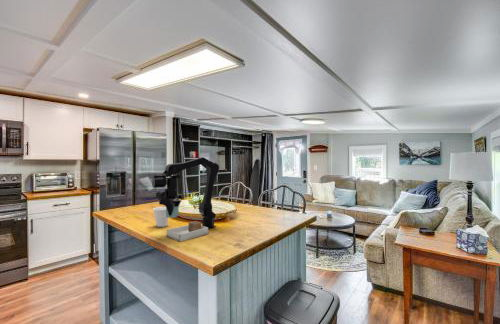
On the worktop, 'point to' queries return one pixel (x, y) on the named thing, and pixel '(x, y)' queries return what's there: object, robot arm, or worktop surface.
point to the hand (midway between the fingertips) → (172, 214)
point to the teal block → (174, 213)
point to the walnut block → (194, 226)
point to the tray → (186, 233)
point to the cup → (160, 216)
